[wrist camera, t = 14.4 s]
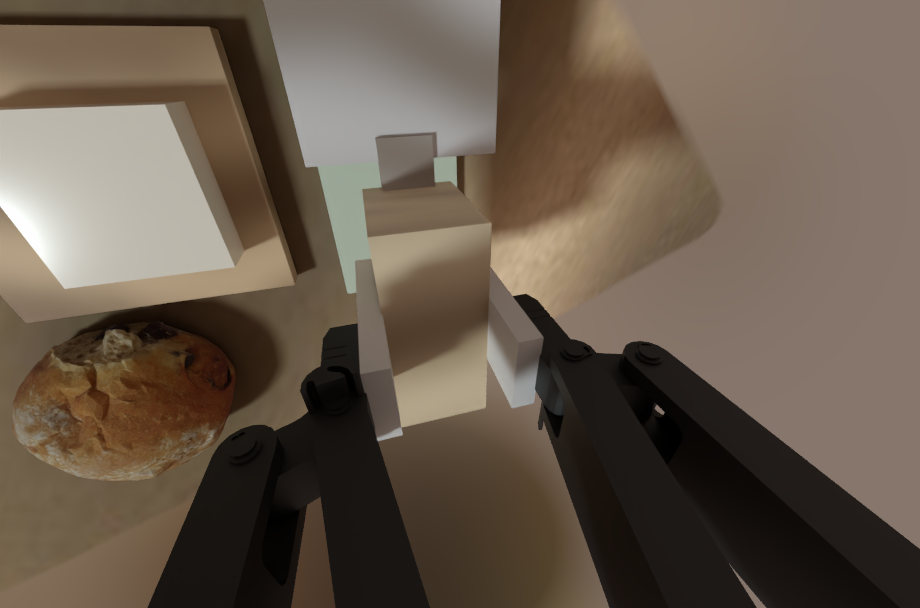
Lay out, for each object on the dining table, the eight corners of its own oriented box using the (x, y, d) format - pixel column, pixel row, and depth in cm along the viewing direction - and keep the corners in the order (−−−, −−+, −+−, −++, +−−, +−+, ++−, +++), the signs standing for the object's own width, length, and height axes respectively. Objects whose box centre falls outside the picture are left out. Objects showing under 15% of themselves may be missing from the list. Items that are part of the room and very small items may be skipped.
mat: (259, -86, 13) (256, -92, 13) (448, -72, 15) (451, -77, 14) (347, 289, 23) (347, 293, 22) (456, 272, 24) (458, 276, 24)
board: (-201, 26, 12) (-248, 23, 11) (218, 29, 15) (209, 26, 14) (42, 310, 19) (25, 323, 18) (297, 275, 21) (295, 284, 20)
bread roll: (73, 345, 24) (-34, 471, 19) (85, 277, 18) (-67, 436, 13) (227, 391, 29) (175, 499, 24) (275, 351, 23) (220, 482, 18)
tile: (-73, 112, 12) (164, 104, 13) (-23, 107, 13) (184, 100, 15) (64, 288, 16) (235, 267, 17) (91, 268, 17) (244, 250, 19)
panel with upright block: (486, 329, 19) (524, 398, 15) (354, 354, 17) (356, 438, 13) (499, -112, 10) (604, -245, 6) (230, -137, 8) (120, -337, 4)
